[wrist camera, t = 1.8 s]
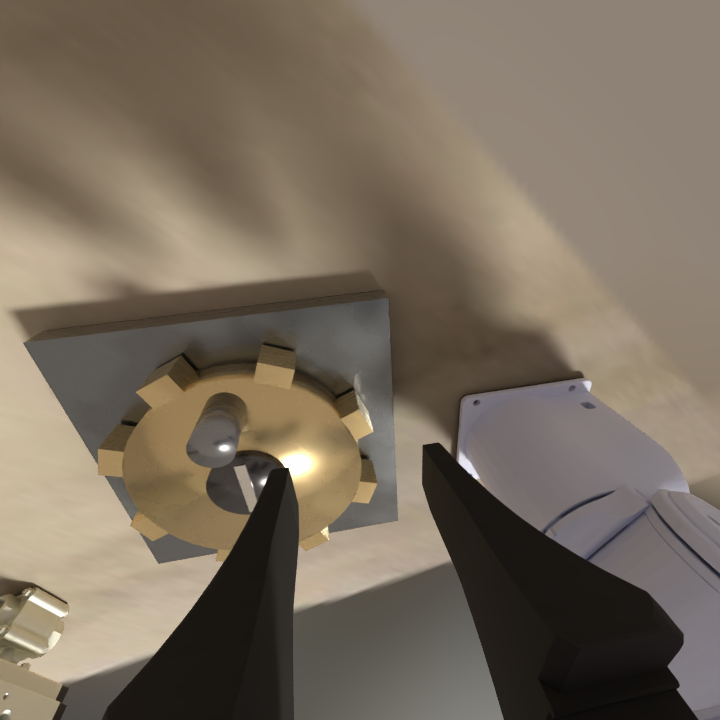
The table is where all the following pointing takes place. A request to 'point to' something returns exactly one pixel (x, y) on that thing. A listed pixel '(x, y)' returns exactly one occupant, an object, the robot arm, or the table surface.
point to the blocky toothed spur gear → (238, 450)
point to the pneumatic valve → (29, 655)
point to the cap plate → (231, 346)
